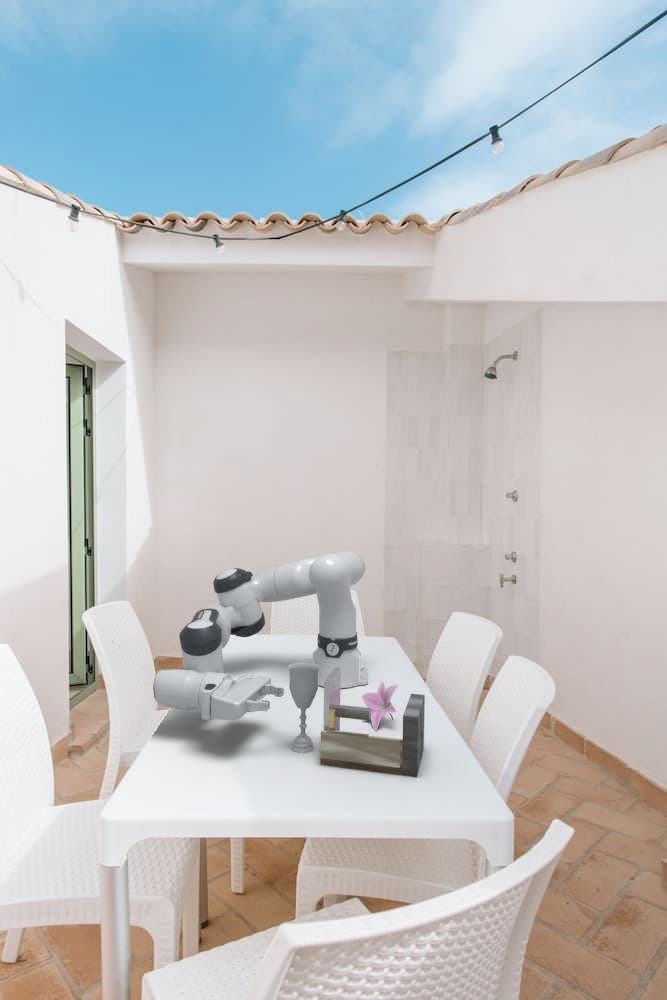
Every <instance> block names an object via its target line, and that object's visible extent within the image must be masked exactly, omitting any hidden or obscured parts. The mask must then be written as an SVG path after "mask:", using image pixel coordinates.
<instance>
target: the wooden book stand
mask: <svg viewBox="0 0 667 1000" xmlns="http://www.w3.org/2000/svg"><path fill="white" fill-rule="evenodd" d="M425 699H426V698H425V694H419V693H410V696H409V698H408V701H407V704H406V707H405V709H404V712H403V715H402V739H401V738H394V737H393V738H392V737H384V736H383V737H382V736H374V735H369V733H360V732H354V731H353V732H351V731H342V730H340V731H335V730H328V731H323V730H320V751H319V752H320V753H319V754H320V756H319V758H320V765H321V766H328V767H335V768H343V769H351V770H360V771H365V772H366V771H367V772H373V773H374V772H375V773H382V774H389V775H397V776H398V775H399V776H403V777H404V776H406V777H411V778H412V777H413V778H418V774H419V769H420V766H421V762H422V758H423V753H424V750H425Z"/></svg>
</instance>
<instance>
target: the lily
mask: <svg viewBox="0 0 667 1000" xmlns="http://www.w3.org/2000/svg"><path fill="white" fill-rule="evenodd" d="M384 683H385V682H384V681H383V680H382V681H381V682H380V684H379V685H378V688H377V691H376V692H366V693H364V694H362V695H361V699H362V701H363V703H364V705H365V706H366V708H371V718H370V720H371V724H372V728H373V730H374V731H375V732H376V731H377V730H378V727H379V725H380V722H381V719H382V718H383V716H384V715H388V714H389V715H390V717H391V719H392V720H394V717H393V714H395V713H396V712H397V711H396V708H395V707H394V705H393V704H392V702H391V700H392V697H393V696H394V695H395V694H394V693H396V690H397V689H398V687H399V683H396V684H393V685H390V686H388V687H387V688H386V687H385V684H384ZM361 721H362V722H364V721H366V720H361Z"/></svg>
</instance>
